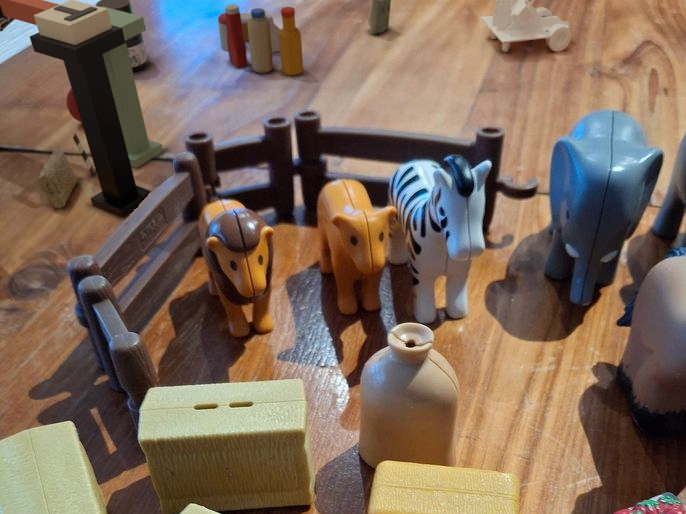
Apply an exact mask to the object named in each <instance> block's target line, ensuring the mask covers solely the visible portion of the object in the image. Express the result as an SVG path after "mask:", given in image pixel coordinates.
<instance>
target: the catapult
mask: <svg viewBox="0 0 686 514" xmlns="http://www.w3.org/2000/svg"><path fill="white" fill-rule="evenodd" d="M534 2H535V0H531V2H530V0H495V1H494V8H493V14H492V15H486V16H479V19H480V20H481V21H482V22H483V24H484V25H485V26H486V27H487V28H488V29H489V31H490V39H491V40H496V39H498V40H499V41H500V42H501V51H502V52H504V53H507V52H509V50H510V47H511V43H514V42H523V41H531V40H534V41H535V40H541V39H543V40H544V39H545V43H546V45H547V47H548V48H549V49H550V50H551V51H553V52H555V53H559V52H561V51H564V50H565V49H567V47H568V46H569V44H570V42H571V39H572V32H571V27H570V23H569V22H568V21H566V20H565V21H563V20H562V19H561V18H560V17H559V16H558V15H553V13H552V11H550V10H549V9H548V8H547V7H544V6H540V7H537V8H535V7H534V6H533V3H534Z"/></svg>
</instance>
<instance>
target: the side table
mask: <svg viewBox="0 0 686 514" xmlns="http://www.w3.org/2000/svg"><path fill="white" fill-rule="evenodd" d="M102 8H106V9H107V10H108V14H109V19H110V23H111V25H113V26H117V27H121V28H122V29H123V34H124V38H125V42H126V40H127V39H129V38H131V37H133V36H135V35H138V34H140V33H142V34H143V33H144V32H146V31H147V29H146V23H145V17H144V16H141V15H138V14H135V13H133V14H130V13H126V12H122V11H118V10H115V9H111V8H107V7H103V6H102ZM103 57H104V61H105V65H106V69H107V73H108V77H109V81H110V85H111V89H112V93H113V97H114V101H115V105H116V109H117V112H118V116H119V120H120V124H121V128H122V132H123V136H124V140H125V144H126V148H127V152H128V156H129V160H130V164H131V168H136V169H137V168H139V167H141V166H142V165H144V164H145V163H147V162H148V161H150V160H152V159H154V158H155V157H157V156H158V155H160V154H162V153H163V152H164V150H163V146H162V143H160V142H156V141H154V140H152V139H151V140H150V139H149V137H148V133H147V128H146V125H145V120H144V115H143V110H142V106H141V102H140V98H139V94H138V89H137V85H136V80H135V75H134V72H133V71H132V67H131V62H130V58H129V54H128V49H127V45H126V43H125V44H123V45H120V46H118V47H116V48H114V49H112V50H110V51H108V52H106V53H104V54H103Z"/></svg>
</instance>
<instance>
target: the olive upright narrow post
mask: <svg viewBox="0 0 686 514" xmlns="http://www.w3.org/2000/svg"><path fill="white" fill-rule="evenodd" d="M391 2H392V0H370V4H369V9H368V15H367V21H368V22H367V23H368V26H369V27H370V29H371V31H370V32H371V35H372V36H375V37H377V36H380V35H382V34H384V33H385V32H386V31H388V29H389V25H390V15H391V14H390V13H391V4H392V3H391Z"/></svg>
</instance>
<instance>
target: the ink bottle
mask: <svg viewBox="0 0 686 514" xmlns="http://www.w3.org/2000/svg"><path fill="white" fill-rule="evenodd" d="M95 6H98V7H102V6H103V7H107V8H111V9H115V10H118V11H122V12H126V13H130V14H134V13H133V9H132V4H131V1H130V0H99V1H97V2H96V4H95ZM126 45H127V49H128V54H129V58H130V62H131V67H132V71H133V73H135V72H138V71H141V70H144V68H146V67H147V65H148V61H149V60H148V55H147V51H146V47H145V42H144V38H143V32H142V33H140V34H138V35H135V36H133V37H131V38H129V39H127V40H126Z"/></svg>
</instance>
